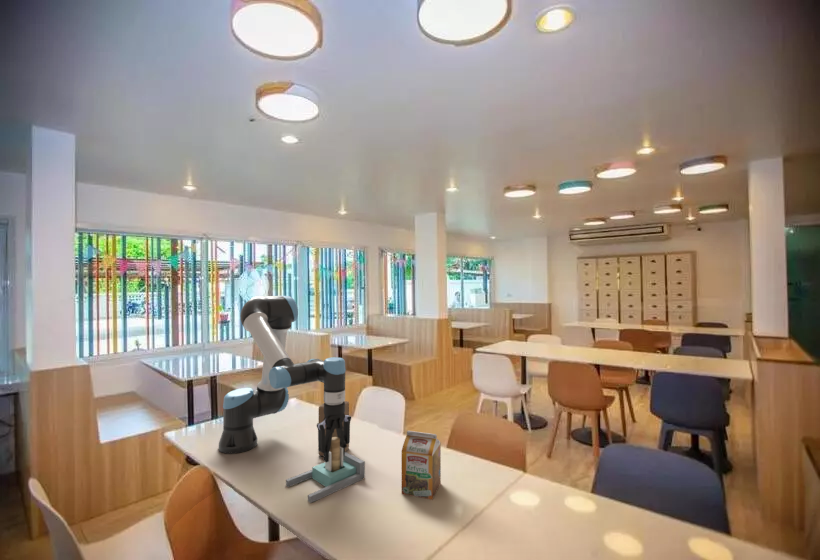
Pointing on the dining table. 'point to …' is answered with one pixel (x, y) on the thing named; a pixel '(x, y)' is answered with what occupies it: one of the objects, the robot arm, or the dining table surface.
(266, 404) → the robot arm
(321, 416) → the block
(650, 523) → the dining table surface
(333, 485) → the track
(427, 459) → the milk carton
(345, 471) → the teal square ring
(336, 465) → the dowel
